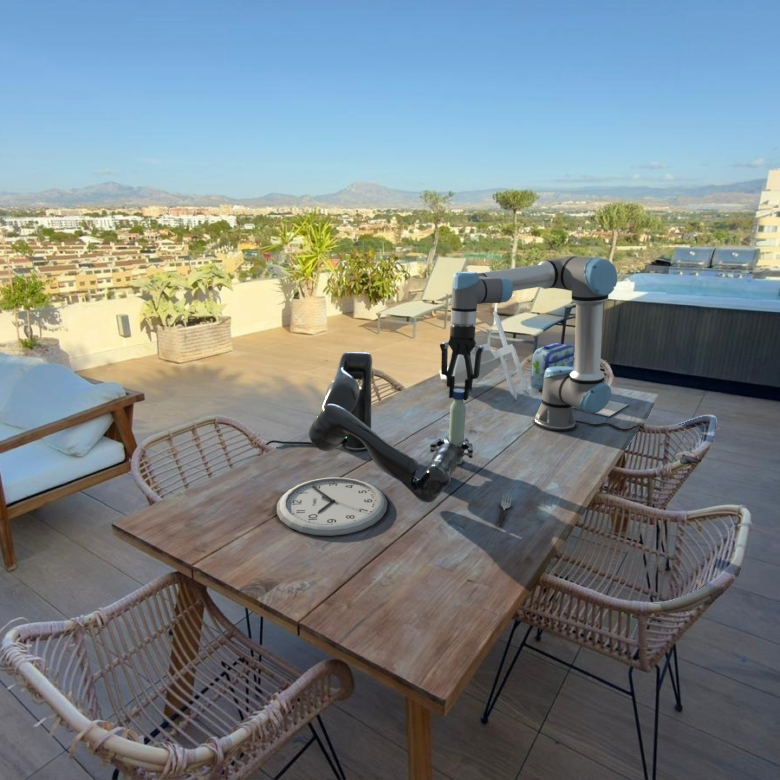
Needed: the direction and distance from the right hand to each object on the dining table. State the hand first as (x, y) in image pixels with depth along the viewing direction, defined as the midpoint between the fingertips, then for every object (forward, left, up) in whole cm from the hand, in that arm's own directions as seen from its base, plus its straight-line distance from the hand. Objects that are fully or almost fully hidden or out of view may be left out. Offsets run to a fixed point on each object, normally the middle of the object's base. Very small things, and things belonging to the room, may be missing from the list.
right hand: (458, 397), depth 165 cm
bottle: (0, 0, -22) cm, 22 cm away
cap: (0, 0, +2) cm, 2 cm away
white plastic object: (-11, -77, -22) cm, 81 cm away
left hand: (-1, -3, -15) cm, 15 cm away
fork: (-13, +32, -22) cm, 41 cm away
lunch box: (-46, -91, -22) cm, 105 cm away
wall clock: (+33, +34, -22) cm, 52 cm away
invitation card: (-63, -65, -22) cm, 93 cm away
